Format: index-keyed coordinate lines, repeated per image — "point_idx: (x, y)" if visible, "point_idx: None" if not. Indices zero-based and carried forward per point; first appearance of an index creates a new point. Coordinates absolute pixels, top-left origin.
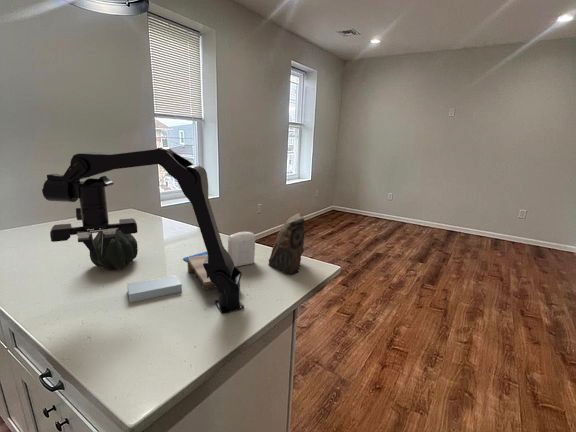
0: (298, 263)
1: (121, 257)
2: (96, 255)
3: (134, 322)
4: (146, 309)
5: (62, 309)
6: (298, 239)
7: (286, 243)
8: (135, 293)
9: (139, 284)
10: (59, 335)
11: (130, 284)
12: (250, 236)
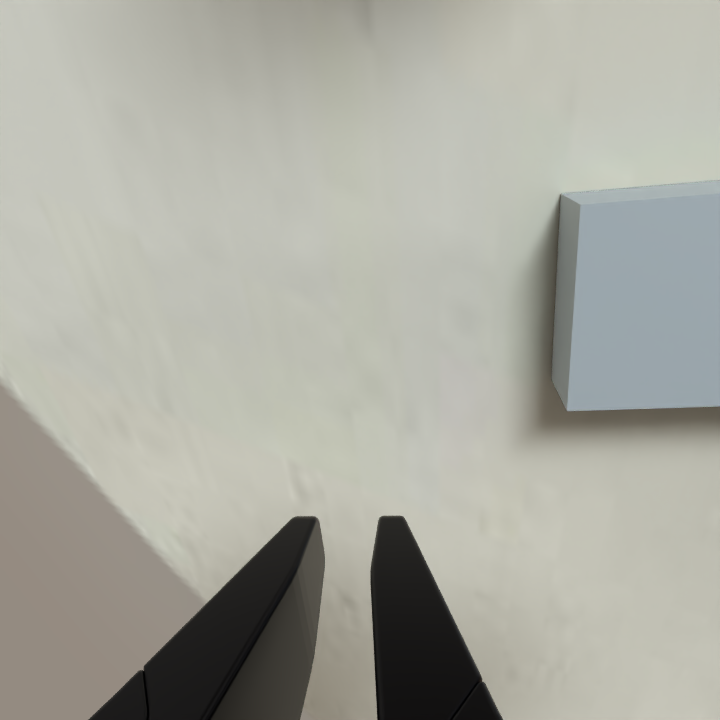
0: None
1: None
2: (304, 679)
3: (543, 578)
4: (631, 492)
5: (153, 309)
6: None
7: None
8: (612, 408)
9: (681, 265)
10: (221, 543)
11: (605, 236)
12: None
